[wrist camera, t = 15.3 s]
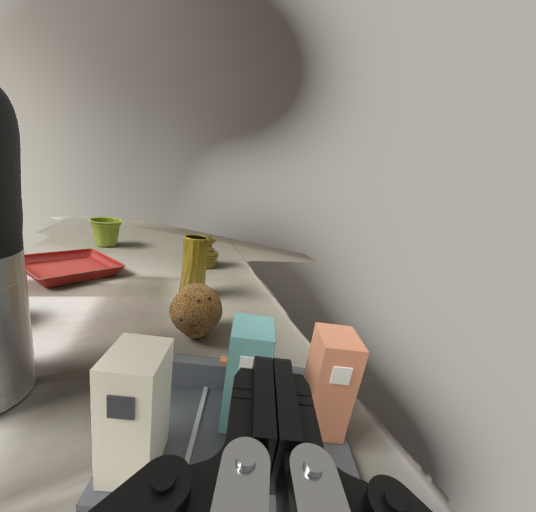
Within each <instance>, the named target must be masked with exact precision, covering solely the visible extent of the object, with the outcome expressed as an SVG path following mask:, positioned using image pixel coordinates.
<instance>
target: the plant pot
mask: <svg viewBox="0 0 536 512" xmlns="http://www.w3.org/2000/svg"><path fill="white" fill-rule="evenodd" d="M89 221H90V223H91V225H92V229H93V233H94V238H95V244H96V245H97V246H99V247H108V246H111V247H114V246H116V245H117V239H118V233H119V227H120V225H121V223H122V220H120V219H116V218H108V217H95V218H90V219H89Z"/></svg>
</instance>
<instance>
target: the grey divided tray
mask: <svg viewBox="0 0 536 512" xmlns="http://www.w3.org/2000/svg"><path fill="white" fill-rule="evenodd" d="M227 358H228V356H223V355H221V359H215V358H206V357H197V356H188V355H178V354H173V365H172V381H171V397H170V412H169V428H168V440H167V443H166V446H165V449H164V452H163V454H162V455H169V454H172V455H177V456H180V457H182V458H183V459H185V460H186V461H187V463H188V464H189V465H191V464H195V463H198V462H202V461H205V460H208V459H210V458H212V457H213V456H214V455H216V454H217V453H218V452H219V451H220V450H221V448H222V447H223V445H224V443H225V438H226V434H224V433H218V429H219V421H220V413H221V405H222V397H223V390H224V382H225V374H226V366H227ZM305 369H306V368H298V367H292V370H293V373H295V374H302V375H303V376H304V373H305ZM323 445H324V449H325V451H327V452H328V454H329V455H330V456H331V457H332V459H333V461H334V462H335V465H336V466H337V467H338V468H339V469H341V470H342V471H344V472H345V473H347V474H349V475H351V476H354V477H356V478H358V479H360V477H359V474H358V471H357V468H356V465H355V462H354V459H353V456H352V453H351V450H350V447H349V444H348V441H347V439H346V436H345V438H344V442H343V444H336V443H325V442H323ZM110 493H111V492H105V491H93V476H92V478H91V480H90V482H89V483H88V485H87V487H86V489H85V490H84V492H83V494H82V496H81V497H80V499H79V501H78V503H77V504H76V512H88V511H89V510H90V509H91V508H93V507H94V506H95V505H96V504H98V503H99V502H100V501H101V500H103V499H104V498H105V497H106V496H108V495H109V494H110ZM269 512H276V495H269Z"/></svg>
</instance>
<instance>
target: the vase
mask: <svg viewBox="0 0 536 512" xmlns="http://www.w3.org/2000/svg"><path fill="white" fill-rule="evenodd" d="M207 247H208V237H206V236H203V235H198V234H187V235H185V236H184V245H183V260H182V272H181V282H180V288H179V291H180V290H181V289H182V288H184V287H185V286H187V285H189V284H193V283H201V284H204V285H205V276H206V261H207Z"/></svg>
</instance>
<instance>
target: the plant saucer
mask: <svg viewBox="0 0 536 512" xmlns="http://www.w3.org/2000/svg"><path fill="white" fill-rule="evenodd" d="M24 258H25V268H26V273H27V274H28V275H30V276H31V277H32V278H34V279H35V280H36V281H37V282H39V283H40V284H41V285H43V286H44V287H46V288H50V287H55V286H61V285H66V284H71V283H76V282H82V281H87V280H92V279H97V278H103V277H108V276H113V275H116V274H117V273H118V272H119V271H121V270H122V269H123V268H124V267H125V265H124V264H122V263H120V262H118V261H116V260H114V259H112V258H110V257H108V256H106V255H104V254H102V253H100V252H98V251H96V250H94V249H79V250H68V251H58V252H47V253H36V254H26V255H24Z"/></svg>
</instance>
